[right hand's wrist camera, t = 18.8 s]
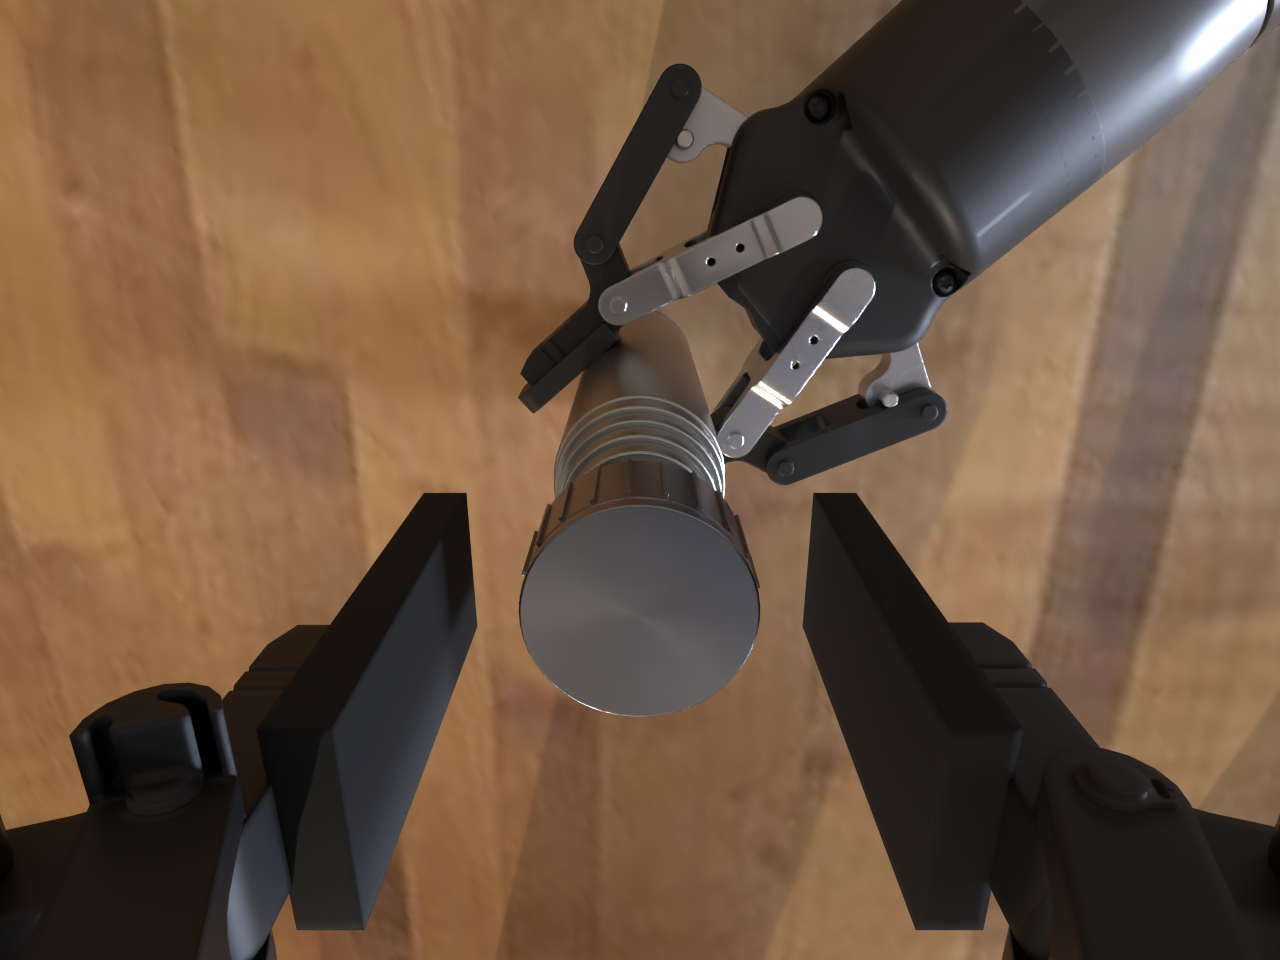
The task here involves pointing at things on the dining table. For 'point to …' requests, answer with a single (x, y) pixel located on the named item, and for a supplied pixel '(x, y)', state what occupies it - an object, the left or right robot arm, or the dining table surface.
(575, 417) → the bottle
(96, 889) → the right robot arm
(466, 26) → the dining table surface
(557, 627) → the cap
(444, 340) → the dining table surface
